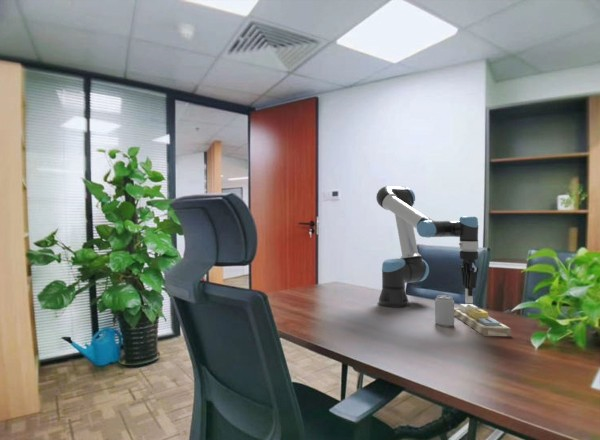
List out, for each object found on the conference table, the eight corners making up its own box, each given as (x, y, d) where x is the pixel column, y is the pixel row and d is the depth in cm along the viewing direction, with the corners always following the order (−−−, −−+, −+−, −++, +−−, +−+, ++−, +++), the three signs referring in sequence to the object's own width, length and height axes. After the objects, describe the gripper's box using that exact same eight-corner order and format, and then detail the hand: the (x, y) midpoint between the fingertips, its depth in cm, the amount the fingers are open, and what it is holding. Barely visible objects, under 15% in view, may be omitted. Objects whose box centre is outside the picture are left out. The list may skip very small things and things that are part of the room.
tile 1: (459, 310, 155) (459, 303, 155) (472, 310, 155) (472, 303, 155) (465, 313, 149) (465, 306, 149) (478, 314, 149) (478, 306, 149)
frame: (451, 313, 158) (451, 307, 158) (473, 314, 158) (473, 307, 158) (484, 335, 128) (484, 328, 128) (510, 336, 128) (510, 328, 128)
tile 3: (478, 325, 137) (478, 317, 137) (492, 325, 137) (492, 318, 137) (485, 330, 132) (485, 322, 132) (499, 330, 132) (499, 322, 132)
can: (434, 325, 141) (434, 297, 141) (435, 320, 147) (436, 293, 147) (453, 328, 137) (453, 299, 137) (454, 323, 144) (454, 295, 144)
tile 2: (468, 315, 146) (468, 308, 146) (481, 316, 146) (481, 308, 146) (474, 319, 141) (474, 312, 141) (488, 319, 140) (488, 312, 140)
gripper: (454, 249, 159) (454, 299, 158) (467, 251, 146) (467, 306, 145) (470, 249, 158) (470, 299, 158) (484, 251, 145) (484, 306, 145)
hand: (469, 302), depth 152 cm, fingers closed
